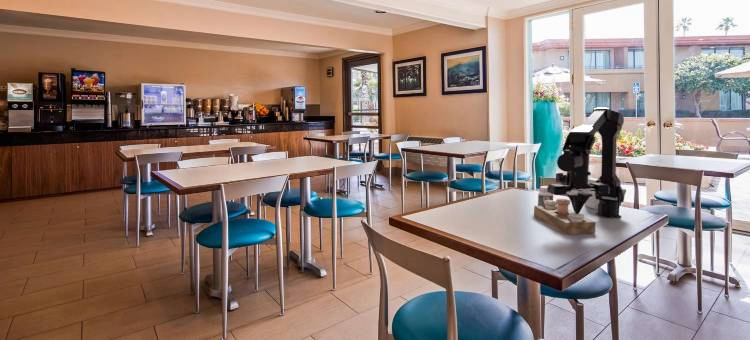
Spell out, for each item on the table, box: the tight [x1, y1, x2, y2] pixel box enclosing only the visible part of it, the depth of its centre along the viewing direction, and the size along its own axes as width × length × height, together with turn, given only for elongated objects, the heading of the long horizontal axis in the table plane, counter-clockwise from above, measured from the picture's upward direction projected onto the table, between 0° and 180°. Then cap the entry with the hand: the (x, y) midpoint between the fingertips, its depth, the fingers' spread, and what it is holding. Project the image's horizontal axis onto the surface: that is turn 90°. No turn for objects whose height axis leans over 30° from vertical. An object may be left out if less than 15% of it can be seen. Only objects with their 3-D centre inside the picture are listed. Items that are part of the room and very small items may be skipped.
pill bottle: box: [537, 185, 554, 206], centre depth 170 cm, size 6×6×10 cm
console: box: [533, 205, 597, 235], centre depth 151 cm, size 10×25×4 cm, turn 3°
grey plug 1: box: [544, 199, 557, 209], centre depth 160 cm, size 5×5×6 cm
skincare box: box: [584, 177, 599, 210], centre depth 174 cm, size 6×4×12 cm
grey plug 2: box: [569, 211, 585, 222], centre depth 141 cm, size 5×5×6 cm
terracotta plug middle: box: [555, 198, 571, 215], centre depth 150 cm, size 5×5×6 cm
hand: (576, 213), depth 141 cm, fingers closed, pressing on grey plug 2
